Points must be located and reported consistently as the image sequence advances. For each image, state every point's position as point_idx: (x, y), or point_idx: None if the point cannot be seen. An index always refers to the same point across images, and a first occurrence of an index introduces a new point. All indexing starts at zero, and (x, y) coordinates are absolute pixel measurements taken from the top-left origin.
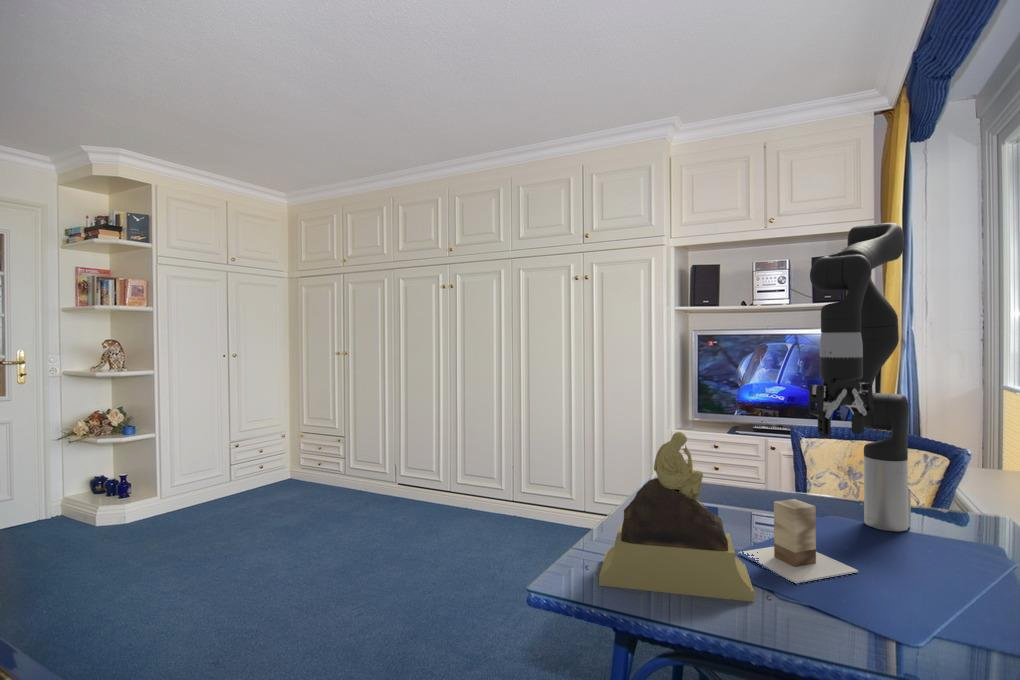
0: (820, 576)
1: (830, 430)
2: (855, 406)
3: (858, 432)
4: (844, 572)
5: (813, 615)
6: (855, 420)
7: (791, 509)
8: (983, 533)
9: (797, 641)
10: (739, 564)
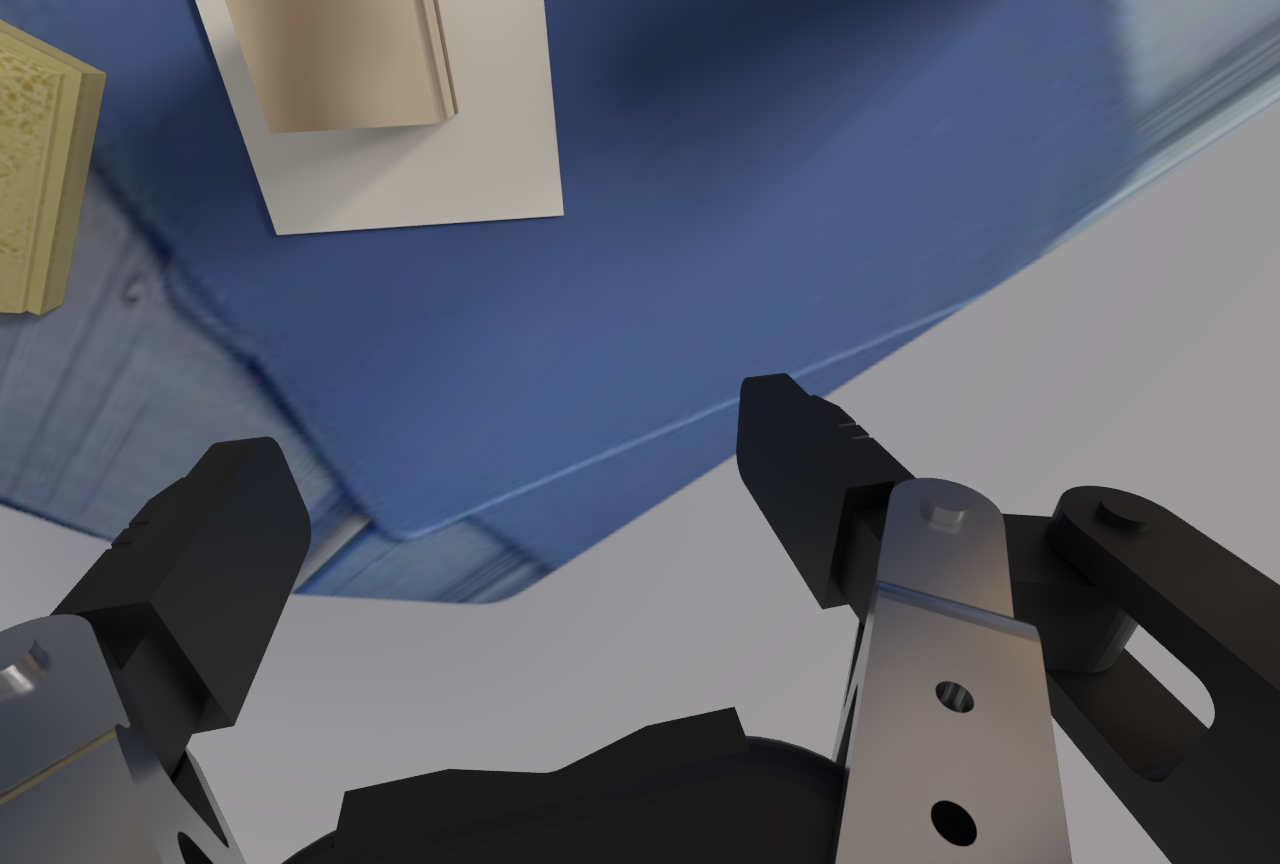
0: (398, 222)
1: (287, 588)
2: (837, 739)
3: (744, 453)
4: (504, 217)
5: (234, 407)
6: (802, 500)
7: (264, 108)
8: (1253, 52)
9: (120, 497)
10: (1, 150)
